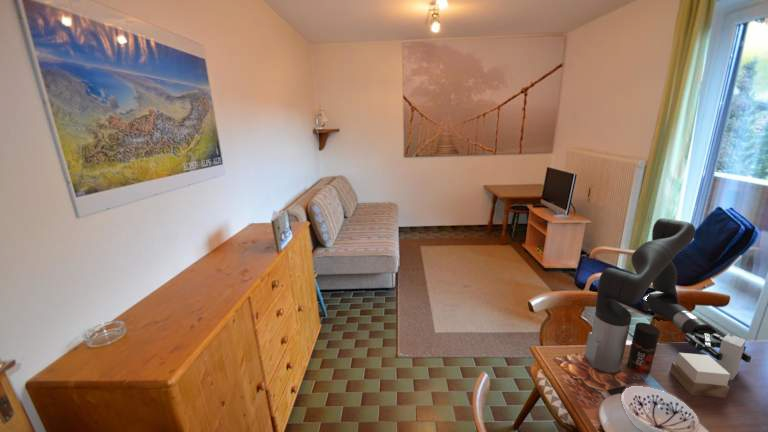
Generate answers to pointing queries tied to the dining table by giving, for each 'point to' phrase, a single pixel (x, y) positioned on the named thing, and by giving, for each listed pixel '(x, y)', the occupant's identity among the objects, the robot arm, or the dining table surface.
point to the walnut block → (698, 384)
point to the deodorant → (643, 348)
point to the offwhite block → (702, 369)
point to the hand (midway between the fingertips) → (734, 358)
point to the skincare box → (731, 354)
